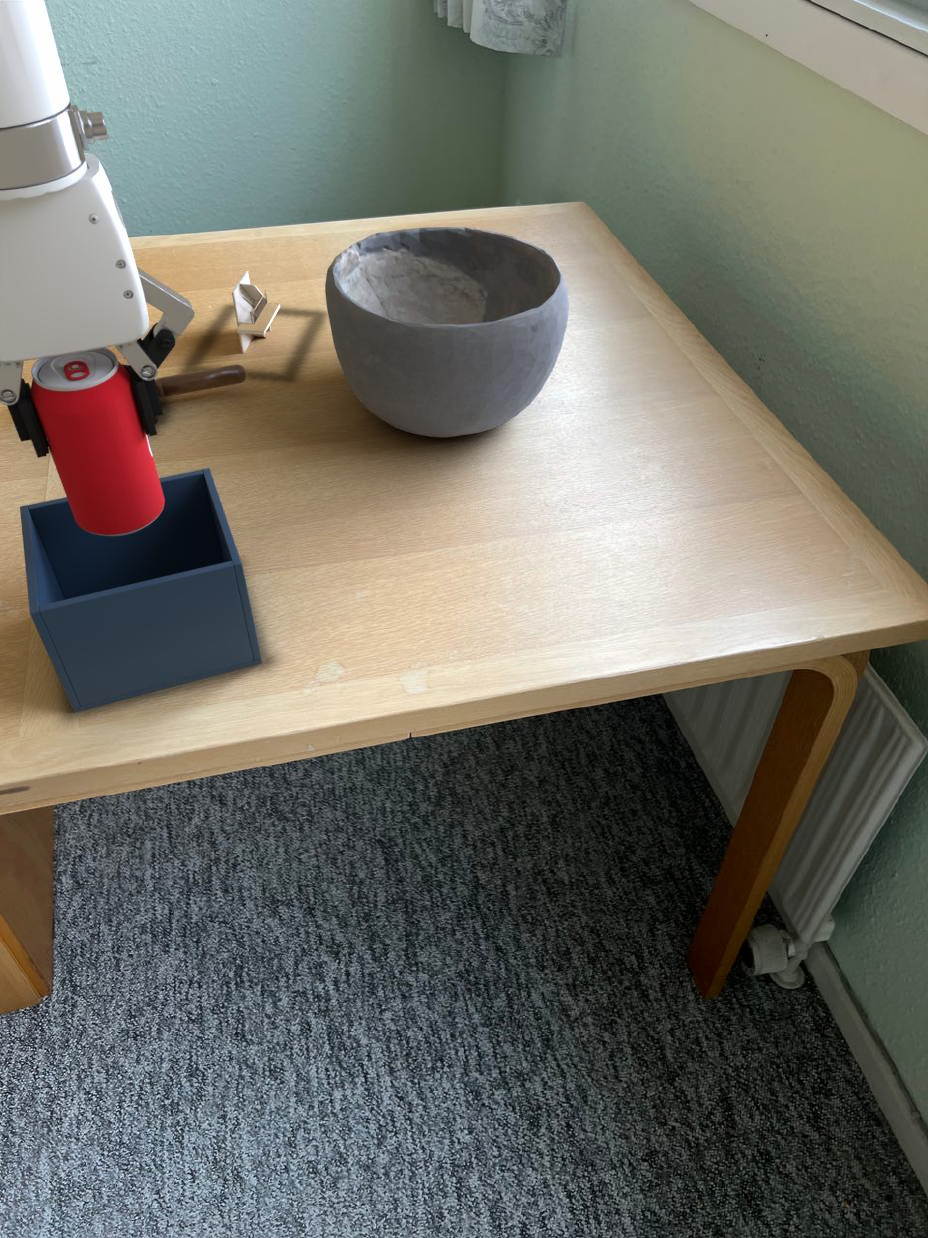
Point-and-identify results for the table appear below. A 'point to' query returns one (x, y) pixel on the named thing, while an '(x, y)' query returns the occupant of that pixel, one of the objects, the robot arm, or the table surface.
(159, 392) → the pan
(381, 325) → the bowl
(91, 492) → the beverage can
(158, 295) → the robot arm
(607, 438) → the table surface
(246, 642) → the bin
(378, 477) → the table surface
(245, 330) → the architectural model
